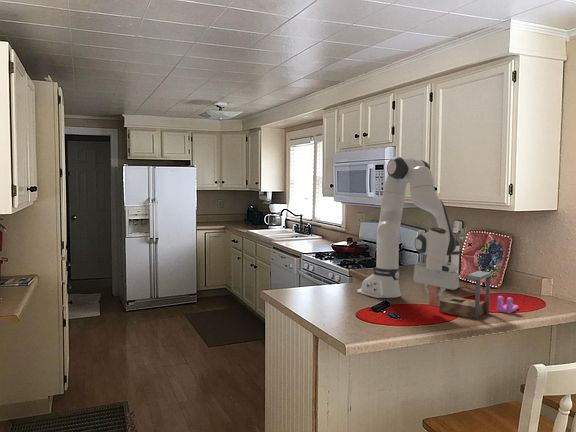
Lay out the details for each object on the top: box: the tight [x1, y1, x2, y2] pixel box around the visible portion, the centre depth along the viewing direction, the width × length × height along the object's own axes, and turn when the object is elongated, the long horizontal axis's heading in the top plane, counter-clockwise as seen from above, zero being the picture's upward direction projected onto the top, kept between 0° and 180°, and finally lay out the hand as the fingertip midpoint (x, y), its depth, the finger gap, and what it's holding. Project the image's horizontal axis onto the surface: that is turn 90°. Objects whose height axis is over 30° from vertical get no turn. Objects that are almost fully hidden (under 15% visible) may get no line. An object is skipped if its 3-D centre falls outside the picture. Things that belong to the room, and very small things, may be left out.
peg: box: [428, 285, 441, 307], centre depth 223 cm, size 4×4×9 cm
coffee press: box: [446, 238, 462, 291], centre depth 278 cm, size 17×16×30 cm
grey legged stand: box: [465, 270, 492, 320], centre depth 222 cm, size 6×14×18 cm, turn 139°
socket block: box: [438, 295, 485, 319], centre depth 227 cm, size 16×12×5 cm
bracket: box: [496, 295, 519, 314], centre depth 233 cm, size 13×6×7 cm, turn 136°
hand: (434, 295), depth 223 cm, fingers closed on peg, 4 cm apart
